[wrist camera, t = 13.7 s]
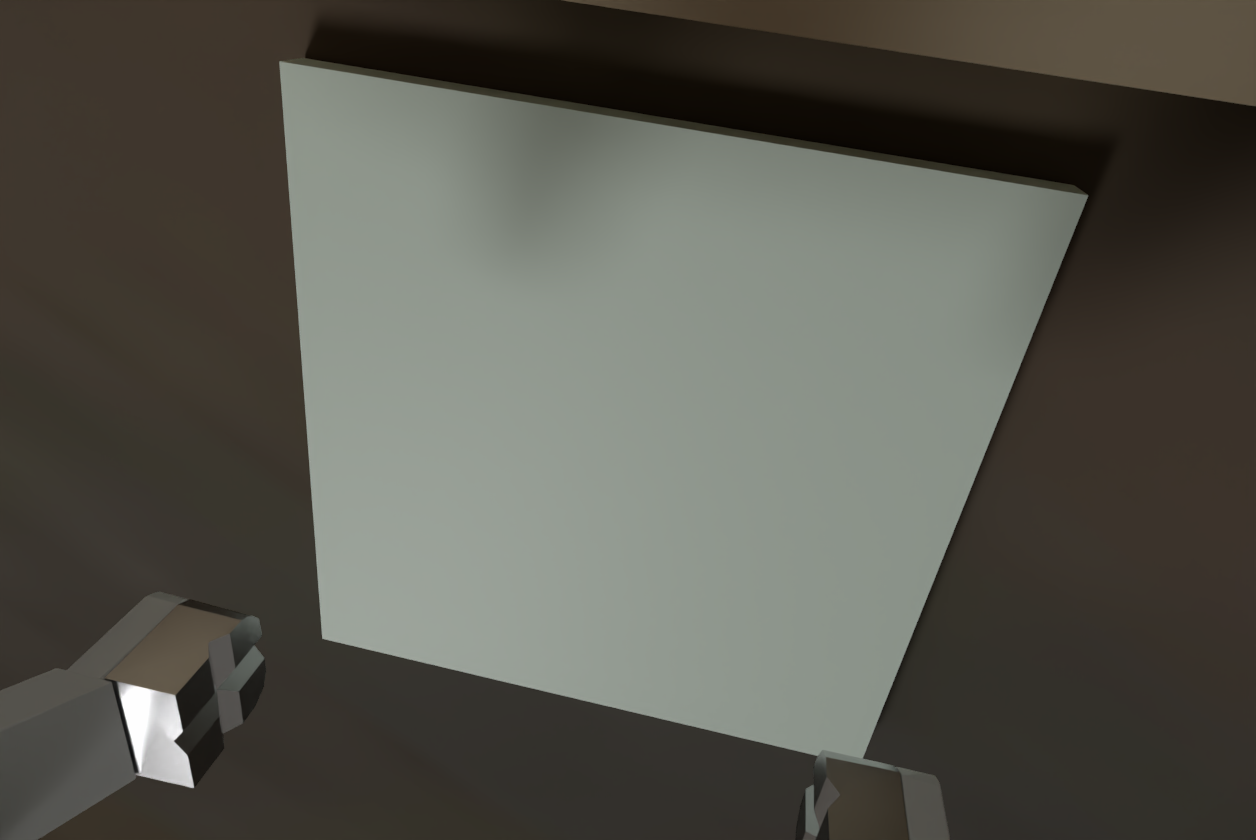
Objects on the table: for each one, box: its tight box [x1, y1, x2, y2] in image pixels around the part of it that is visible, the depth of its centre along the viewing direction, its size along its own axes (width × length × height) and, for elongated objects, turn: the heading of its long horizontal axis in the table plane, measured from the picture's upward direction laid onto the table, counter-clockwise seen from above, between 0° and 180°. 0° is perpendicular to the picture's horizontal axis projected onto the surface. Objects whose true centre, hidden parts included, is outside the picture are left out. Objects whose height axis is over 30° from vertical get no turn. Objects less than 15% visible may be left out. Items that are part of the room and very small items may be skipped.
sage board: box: [279, 58, 1088, 758], centre depth 18 cm, size 14×14×1 cm
